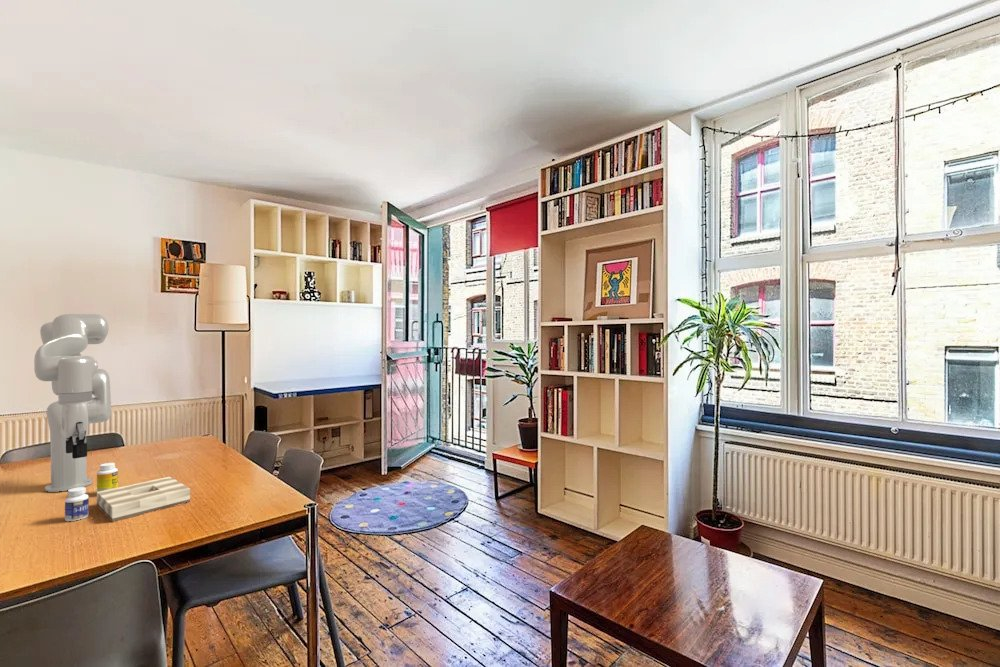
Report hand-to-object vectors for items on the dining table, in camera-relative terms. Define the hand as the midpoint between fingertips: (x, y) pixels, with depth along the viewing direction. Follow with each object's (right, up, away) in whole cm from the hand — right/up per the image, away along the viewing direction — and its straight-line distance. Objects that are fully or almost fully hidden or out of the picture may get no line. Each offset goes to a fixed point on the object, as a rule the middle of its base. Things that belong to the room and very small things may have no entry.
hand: (76, 454), depth 139 cm
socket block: (+11, -19, +12) cm, 25 cm away
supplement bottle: (-9, -19, +21) cm, 30 cm away
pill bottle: (0, -20, 0) cm, 20 cm away
